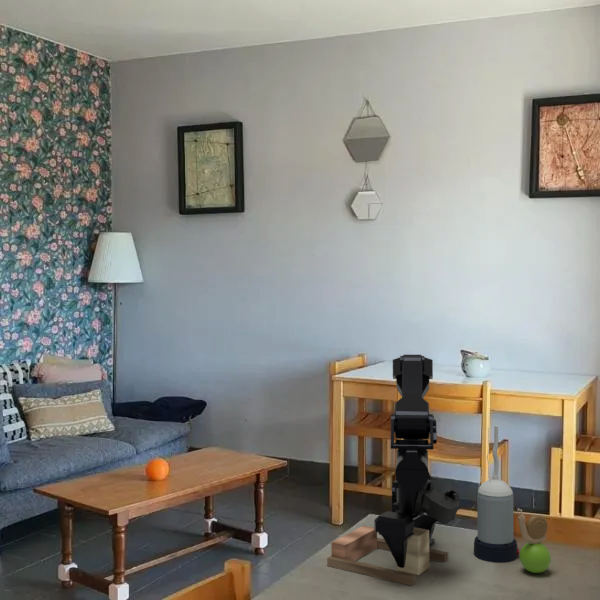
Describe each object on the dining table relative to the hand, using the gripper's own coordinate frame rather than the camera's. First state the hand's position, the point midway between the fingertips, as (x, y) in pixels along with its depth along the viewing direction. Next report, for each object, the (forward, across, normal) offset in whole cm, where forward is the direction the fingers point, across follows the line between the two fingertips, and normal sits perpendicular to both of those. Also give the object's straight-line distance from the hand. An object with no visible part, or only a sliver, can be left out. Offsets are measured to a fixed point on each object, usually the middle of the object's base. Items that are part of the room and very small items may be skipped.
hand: (413, 559), depth 149 cm
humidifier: (+2, +15, -10) cm, 18 cm away
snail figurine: (+2, +10, -19) cm, 22 cm away
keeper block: (+2, 0, 0) cm, 2 cm away
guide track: (+2, 0, +5) cm, 5 cm away
